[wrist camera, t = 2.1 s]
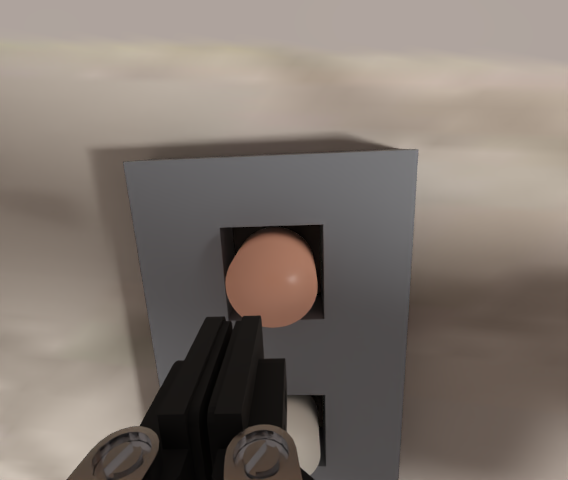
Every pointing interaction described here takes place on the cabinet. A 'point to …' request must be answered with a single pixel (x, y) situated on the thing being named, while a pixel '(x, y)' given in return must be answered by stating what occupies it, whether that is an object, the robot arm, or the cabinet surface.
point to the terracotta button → (273, 277)
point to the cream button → (304, 430)
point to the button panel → (334, 279)
